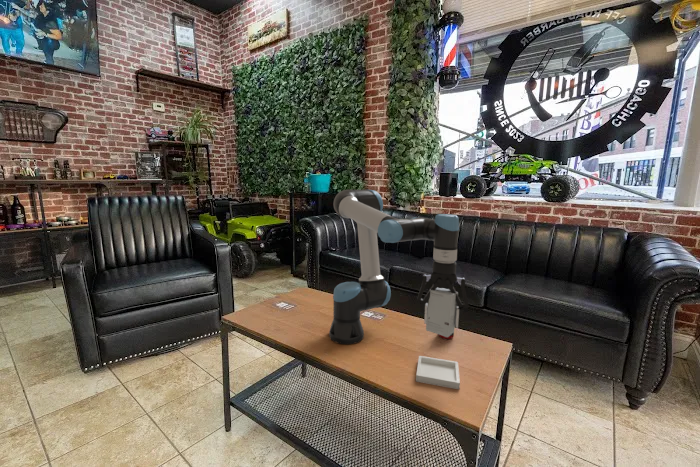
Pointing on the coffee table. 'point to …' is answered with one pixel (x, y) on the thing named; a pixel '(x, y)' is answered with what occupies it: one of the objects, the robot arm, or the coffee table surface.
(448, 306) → the skincare box
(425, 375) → the tray
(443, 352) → the coffee table surface
